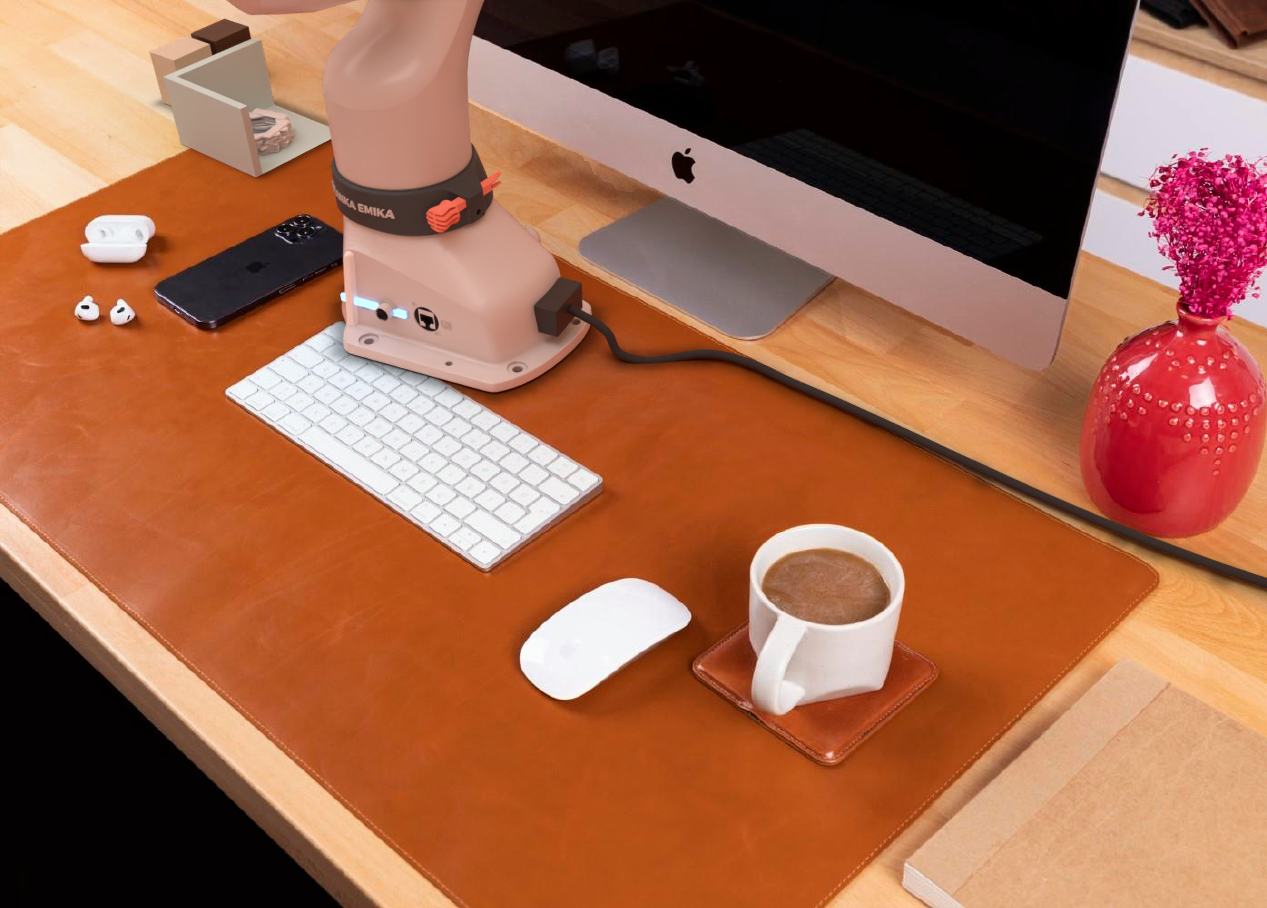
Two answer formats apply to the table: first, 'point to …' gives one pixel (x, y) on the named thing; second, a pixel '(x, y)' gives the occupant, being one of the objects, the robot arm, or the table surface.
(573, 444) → the table surface
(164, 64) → the light tan block
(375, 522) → the table surface
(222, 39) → the walnut block
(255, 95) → the l-shaped corner panel
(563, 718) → the table surface
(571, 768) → the table surface
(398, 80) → the robot arm
